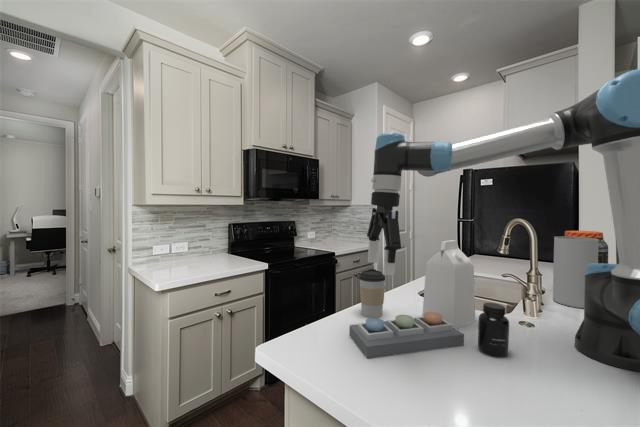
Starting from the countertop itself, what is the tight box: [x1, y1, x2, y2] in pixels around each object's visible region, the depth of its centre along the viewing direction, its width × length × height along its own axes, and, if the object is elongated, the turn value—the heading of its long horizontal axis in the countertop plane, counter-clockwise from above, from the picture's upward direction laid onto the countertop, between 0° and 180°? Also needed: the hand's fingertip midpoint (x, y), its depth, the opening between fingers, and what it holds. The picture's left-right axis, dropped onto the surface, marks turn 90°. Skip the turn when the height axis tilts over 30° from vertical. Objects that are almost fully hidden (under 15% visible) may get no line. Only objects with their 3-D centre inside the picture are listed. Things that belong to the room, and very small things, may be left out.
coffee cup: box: [358, 268, 386, 318], centre depth 100 cm, size 9×9×15 cm
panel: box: [349, 316, 465, 360], centre depth 81 cm, size 13×28×4 cm, turn 104°
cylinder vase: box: [552, 235, 598, 310], centre depth 109 cm, size 12×12×25 cm
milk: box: [421, 239, 477, 330], centre depth 95 cm, size 12×12×26 cm
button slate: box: [365, 317, 384, 331], centre depth 78 cm, size 5×5×2 cm
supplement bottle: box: [477, 302, 510, 358], centre depth 74 cm, size 7×7×12 cm
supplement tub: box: [564, 230, 609, 264], centre depth 126 cm, size 16×16×26 cm
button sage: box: [394, 314, 415, 328], centre depth 81 cm, size 5×5×2 cm
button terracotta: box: [424, 312, 442, 324], centre depth 83 cm, size 5×5×2 cm
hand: (379, 268), depth 80 cm, fingers open, 13 cm apart
